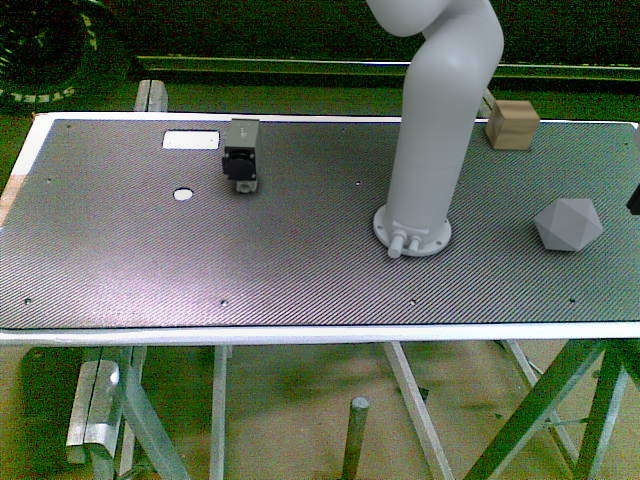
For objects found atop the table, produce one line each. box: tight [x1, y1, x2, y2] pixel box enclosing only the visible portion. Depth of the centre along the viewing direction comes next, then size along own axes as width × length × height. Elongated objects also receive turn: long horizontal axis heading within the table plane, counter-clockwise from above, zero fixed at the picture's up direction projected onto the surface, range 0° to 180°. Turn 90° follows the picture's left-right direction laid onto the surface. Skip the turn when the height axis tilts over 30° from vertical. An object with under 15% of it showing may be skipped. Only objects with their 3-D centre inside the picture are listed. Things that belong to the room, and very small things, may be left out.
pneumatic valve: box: [220, 117, 262, 194], centre depth 80 cm, size 6×12×12 cm, turn 0°
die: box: [533, 197, 605, 252], centre depth 74 cm, size 8×9×10 cm
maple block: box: [484, 99, 541, 151], centre depth 96 cm, size 7×7×7 cm
